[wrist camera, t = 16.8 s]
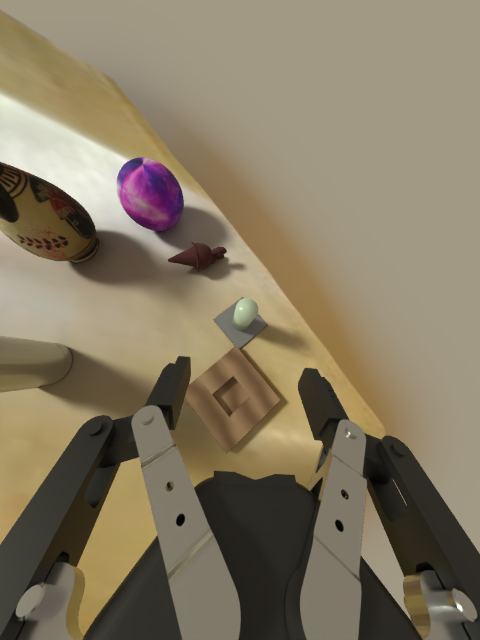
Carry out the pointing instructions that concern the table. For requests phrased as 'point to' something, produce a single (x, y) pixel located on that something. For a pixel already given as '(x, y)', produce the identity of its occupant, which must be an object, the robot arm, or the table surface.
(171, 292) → the table surface
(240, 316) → the ball
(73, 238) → the ceramic jug
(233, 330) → the mat
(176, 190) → the decorative orb
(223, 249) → the icecream
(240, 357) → the pocket block
